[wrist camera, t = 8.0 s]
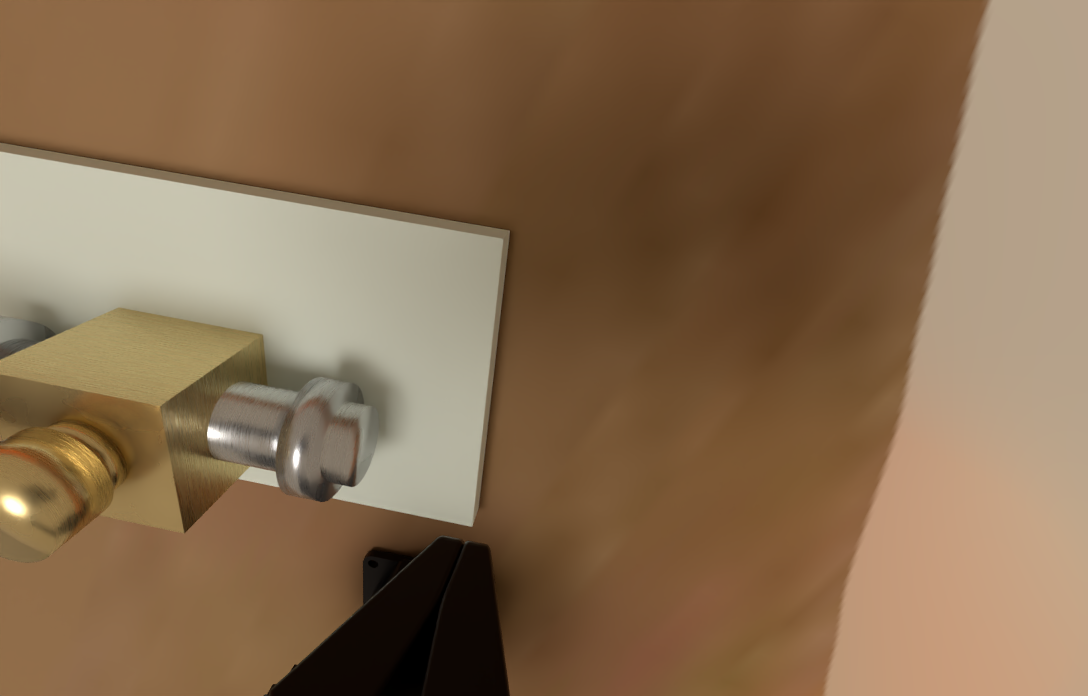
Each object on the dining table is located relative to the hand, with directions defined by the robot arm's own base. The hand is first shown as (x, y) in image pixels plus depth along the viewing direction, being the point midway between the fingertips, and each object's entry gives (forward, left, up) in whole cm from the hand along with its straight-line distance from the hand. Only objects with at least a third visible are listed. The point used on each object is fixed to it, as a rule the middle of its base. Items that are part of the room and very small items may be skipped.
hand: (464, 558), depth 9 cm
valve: (-6, +14, -12) cm, 19 cm away
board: (-4, +14, -13) cm, 20 cm away
